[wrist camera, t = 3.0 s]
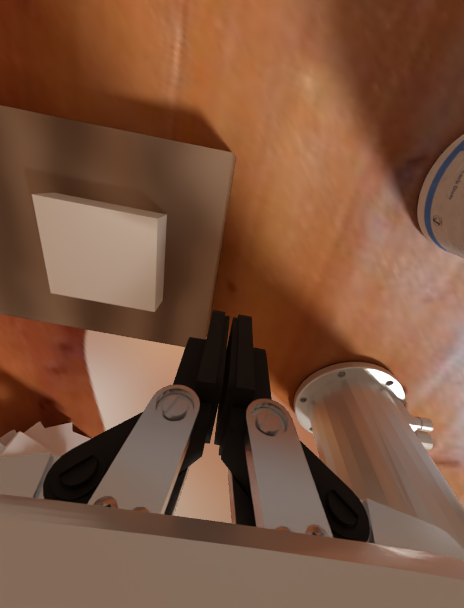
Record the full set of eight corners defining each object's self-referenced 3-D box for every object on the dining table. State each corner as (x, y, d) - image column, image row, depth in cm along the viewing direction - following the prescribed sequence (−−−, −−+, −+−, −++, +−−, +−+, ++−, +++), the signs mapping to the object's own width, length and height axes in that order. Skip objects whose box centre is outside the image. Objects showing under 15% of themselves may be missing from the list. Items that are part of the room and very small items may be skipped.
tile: (166, 214, 17) (157, 218, 16) (162, 300, 21) (154, 312, 19) (54, 192, 17) (31, 194, 15) (67, 282, 20) (50, 293, 19)
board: (236, 157, 19) (233, 152, 15) (209, 326, 26) (202, 350, 23) (-25, 104, 18) (-91, 86, 15) (22, 293, 26) (-14, 311, 22)
